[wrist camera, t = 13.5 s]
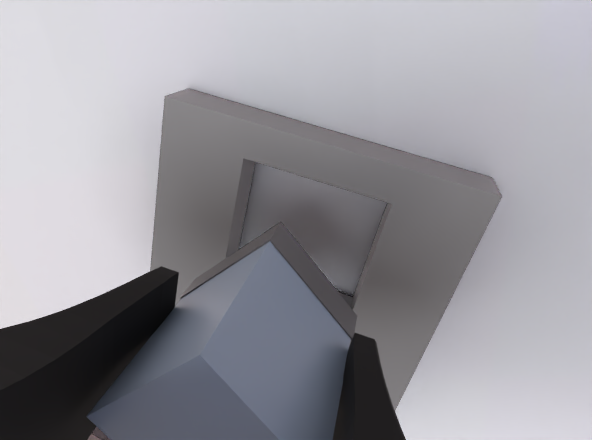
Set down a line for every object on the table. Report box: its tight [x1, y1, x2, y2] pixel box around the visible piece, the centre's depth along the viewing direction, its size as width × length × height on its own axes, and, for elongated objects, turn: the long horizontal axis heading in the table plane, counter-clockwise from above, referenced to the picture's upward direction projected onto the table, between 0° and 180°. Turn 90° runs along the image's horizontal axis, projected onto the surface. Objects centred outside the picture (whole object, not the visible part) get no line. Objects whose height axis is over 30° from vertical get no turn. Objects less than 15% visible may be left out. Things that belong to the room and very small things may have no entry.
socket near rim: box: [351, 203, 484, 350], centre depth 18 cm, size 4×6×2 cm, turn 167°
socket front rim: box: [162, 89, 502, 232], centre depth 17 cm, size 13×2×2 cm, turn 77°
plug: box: [86, 222, 357, 440], centre depth 12 cm, size 4×4×6 cm
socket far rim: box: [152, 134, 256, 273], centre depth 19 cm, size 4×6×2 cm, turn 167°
